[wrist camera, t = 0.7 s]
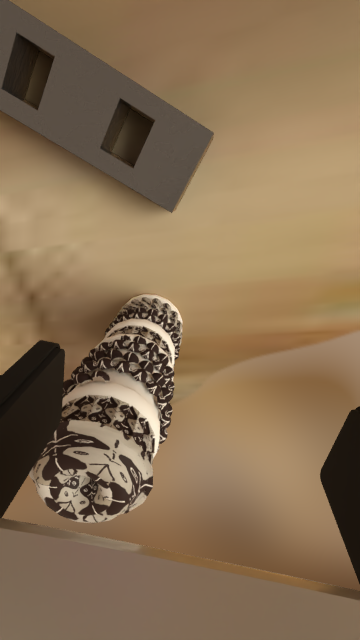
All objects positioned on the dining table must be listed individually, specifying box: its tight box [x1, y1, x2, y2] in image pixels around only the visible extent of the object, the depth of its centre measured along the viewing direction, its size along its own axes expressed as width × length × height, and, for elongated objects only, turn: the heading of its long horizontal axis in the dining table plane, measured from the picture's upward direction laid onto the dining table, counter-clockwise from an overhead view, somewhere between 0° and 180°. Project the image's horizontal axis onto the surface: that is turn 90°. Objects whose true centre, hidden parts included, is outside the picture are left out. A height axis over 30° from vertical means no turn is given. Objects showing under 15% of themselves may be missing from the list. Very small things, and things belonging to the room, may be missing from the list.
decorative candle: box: [29, 294, 182, 523], centre depth 30 cm, size 9×9×25 cm
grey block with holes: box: [0, 0, 214, 213], centre depth 31 cm, size 8×24×4 cm, turn 61°
